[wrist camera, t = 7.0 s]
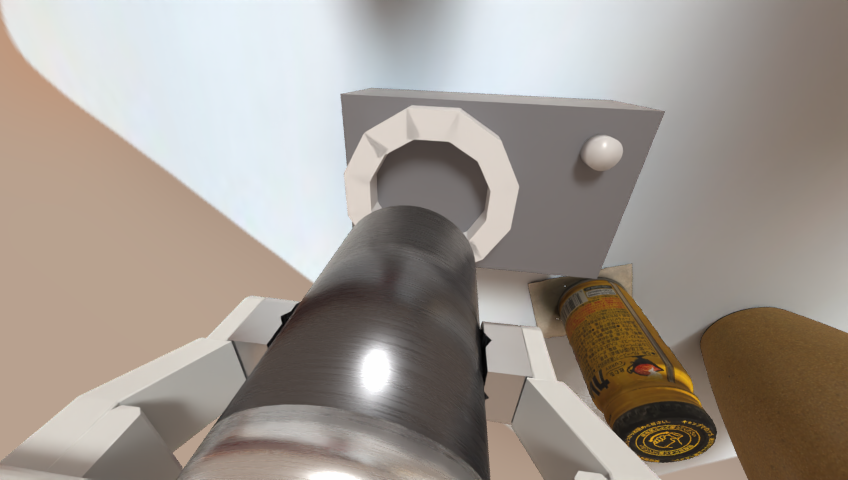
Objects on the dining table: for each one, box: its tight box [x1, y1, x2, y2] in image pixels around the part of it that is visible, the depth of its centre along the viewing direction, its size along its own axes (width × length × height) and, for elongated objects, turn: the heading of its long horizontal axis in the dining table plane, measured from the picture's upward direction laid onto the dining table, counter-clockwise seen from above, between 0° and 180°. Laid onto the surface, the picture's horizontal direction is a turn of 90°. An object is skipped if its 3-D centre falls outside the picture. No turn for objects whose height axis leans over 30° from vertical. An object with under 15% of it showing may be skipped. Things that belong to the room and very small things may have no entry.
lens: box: [176, 205, 490, 480], centre depth 8 cm, size 5×5×8 cm
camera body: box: [341, 88, 665, 279], centre depth 19 cm, size 16×10×8 cm, turn 88°
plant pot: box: [700, 307, 848, 480], centre depth 21 cm, size 15×15×16 cm
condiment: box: [528, 264, 717, 463], centre depth 23 cm, size 7×8×12 cm
